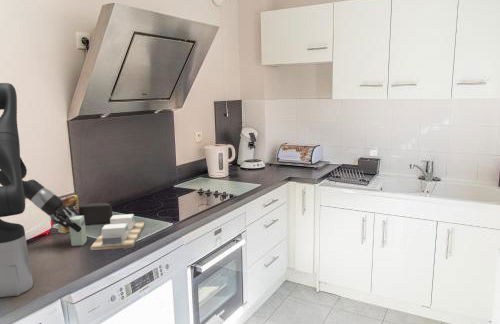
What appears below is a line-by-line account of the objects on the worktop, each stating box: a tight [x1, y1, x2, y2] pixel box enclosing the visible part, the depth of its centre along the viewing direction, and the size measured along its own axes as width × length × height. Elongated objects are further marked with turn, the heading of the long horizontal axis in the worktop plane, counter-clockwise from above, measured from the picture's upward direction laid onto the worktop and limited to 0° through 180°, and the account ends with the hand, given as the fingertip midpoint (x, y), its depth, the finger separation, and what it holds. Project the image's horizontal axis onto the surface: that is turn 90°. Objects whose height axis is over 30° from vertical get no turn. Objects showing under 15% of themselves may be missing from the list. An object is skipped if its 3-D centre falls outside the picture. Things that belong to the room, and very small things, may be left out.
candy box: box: [56, 194, 80, 234], centre depth 167 cm, size 9×4×15 cm, turn 152°
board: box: [89, 221, 146, 251], centre depth 159 cm, size 26×16×1 cm, turn 5°
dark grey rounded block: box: [79, 202, 113, 226], centre depth 176 cm, size 16×5×9 cm, turn 96°
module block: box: [68, 216, 88, 247], centre depth 152 cm, size 4×5×11 cm
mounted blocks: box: [101, 213, 136, 244], centre depth 158 cm, size 24×9×5 cm, turn 5°
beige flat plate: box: [101, 221, 137, 246], centre depth 159 cm, size 25×8×1 cm, turn 5°
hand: (82, 228), depth 152 cm, fingers closed on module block, 4 cm apart
